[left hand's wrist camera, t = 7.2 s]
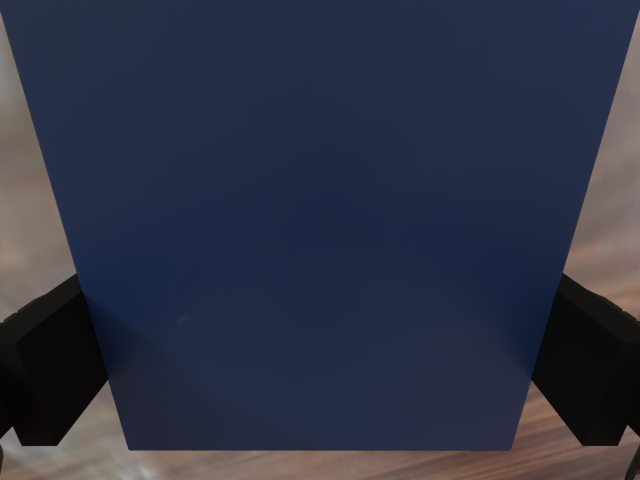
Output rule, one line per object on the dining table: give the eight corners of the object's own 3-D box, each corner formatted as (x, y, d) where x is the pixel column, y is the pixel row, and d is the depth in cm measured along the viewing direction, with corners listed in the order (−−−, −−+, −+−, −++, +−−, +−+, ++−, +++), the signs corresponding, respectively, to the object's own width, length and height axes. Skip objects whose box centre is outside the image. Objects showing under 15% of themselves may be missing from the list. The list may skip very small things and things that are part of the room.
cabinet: (189, -34, 15) (-111, -356, 4) (450, -33, 15) (750, -356, 4) (225, 277, 20) (127, 452, 10) (414, 277, 20) (512, 452, 10)
